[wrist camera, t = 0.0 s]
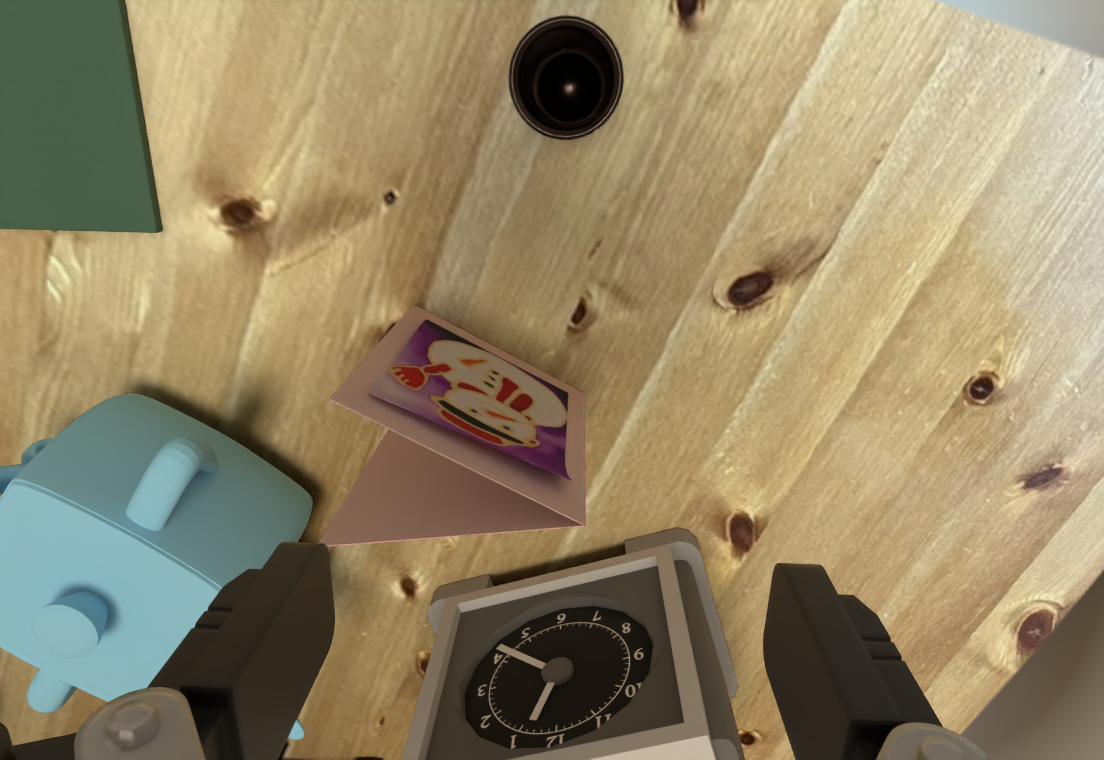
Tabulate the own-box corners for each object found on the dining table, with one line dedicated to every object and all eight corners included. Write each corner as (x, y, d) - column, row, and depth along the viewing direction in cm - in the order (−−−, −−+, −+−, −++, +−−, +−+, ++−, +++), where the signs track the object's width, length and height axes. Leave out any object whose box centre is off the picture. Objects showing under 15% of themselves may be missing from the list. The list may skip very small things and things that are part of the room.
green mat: (-115, -53, 37) (-126, -56, 36) (116, -49, 37) (109, -52, 36) (-43, 225, 42) (-52, 227, 41) (162, 231, 41) (157, 232, 41)
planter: (526, 133, 39) (508, 139, 29) (526, 40, 37) (507, 13, 28) (611, 134, 39) (621, 141, 29) (615, 41, 37) (627, 15, 27)
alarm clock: (692, 523, 47) (757, 762, 29) (737, 681, 51) (817, 971, 34) (426, 589, 49) (343, 845, 32) (490, 734, 53) (446, 1029, 36)
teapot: (113, 605, 51) (-43, 769, 38) (36, 386, 45) (-176, 493, 32) (369, 593, 49) (297, 759, 37) (324, 367, 44) (220, 471, 31)
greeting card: (591, 381, 43) (596, 509, 29) (533, 477, 46) (512, 638, 32) (419, 291, 42) (337, 380, 28) (369, 395, 44) (270, 526, 30)
